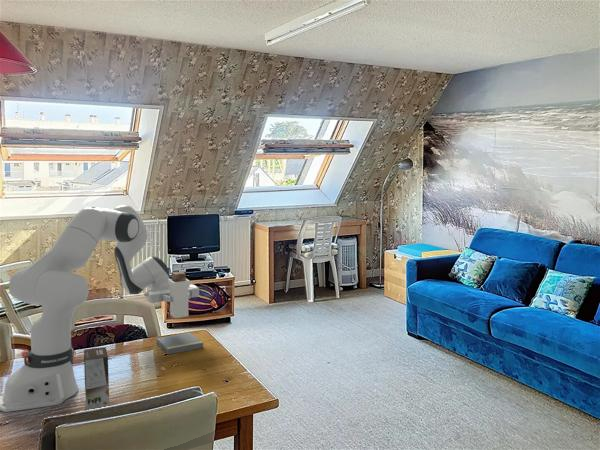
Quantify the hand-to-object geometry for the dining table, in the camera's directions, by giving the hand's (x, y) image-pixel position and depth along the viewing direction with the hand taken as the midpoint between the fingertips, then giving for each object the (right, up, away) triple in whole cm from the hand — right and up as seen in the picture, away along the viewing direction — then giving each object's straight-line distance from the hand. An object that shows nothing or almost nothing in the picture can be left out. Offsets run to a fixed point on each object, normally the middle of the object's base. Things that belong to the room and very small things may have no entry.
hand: (179, 298), depth 202 cm
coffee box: (-14, -25, -47) cm, 55 cm away
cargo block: (0, +6, 0) cm, 6 cm away
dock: (-1, -19, +3) cm, 19 cm away
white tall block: (-1, -7, +2) cm, 7 cm away
